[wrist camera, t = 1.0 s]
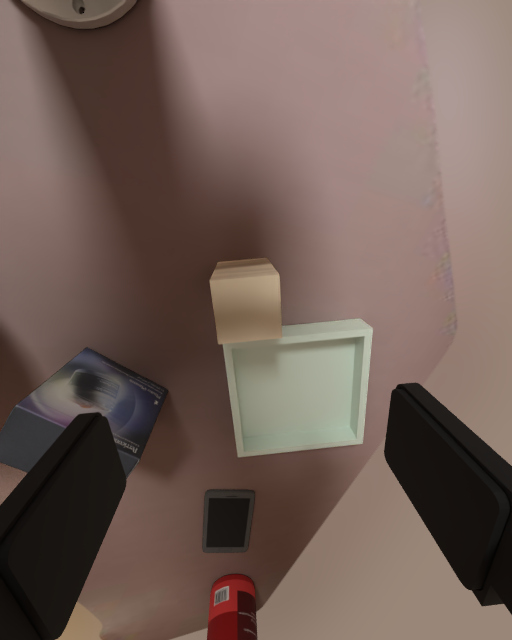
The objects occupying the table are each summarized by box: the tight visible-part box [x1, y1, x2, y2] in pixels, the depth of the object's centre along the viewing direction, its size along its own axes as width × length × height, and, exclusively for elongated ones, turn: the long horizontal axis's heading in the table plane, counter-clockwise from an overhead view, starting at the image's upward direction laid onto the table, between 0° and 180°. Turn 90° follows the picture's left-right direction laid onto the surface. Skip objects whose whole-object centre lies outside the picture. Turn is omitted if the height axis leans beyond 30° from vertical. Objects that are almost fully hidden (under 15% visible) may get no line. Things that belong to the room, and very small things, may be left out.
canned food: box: [207, 574, 257, 640], centre depth 42 cm, size 8×8×11 cm
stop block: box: [210, 258, 282, 344], centre depth 24 cm, size 5×5×9 cm
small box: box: [0, 347, 168, 479], centre depth 27 cm, size 11×6×10 cm, turn 54°
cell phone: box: [202, 490, 255, 553], centre depth 41 cm, size 7×14×1 cm, turn 174°
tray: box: [223, 318, 373, 457], centre depth 32 cm, size 16×16×3 cm
